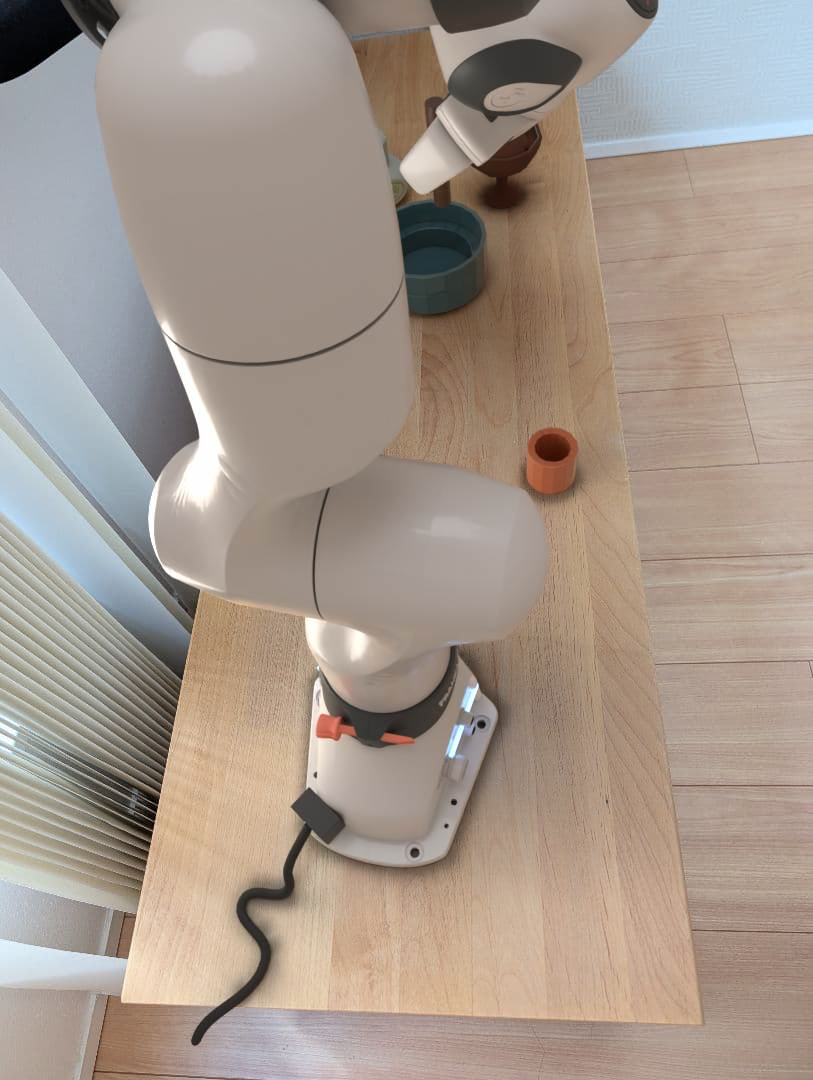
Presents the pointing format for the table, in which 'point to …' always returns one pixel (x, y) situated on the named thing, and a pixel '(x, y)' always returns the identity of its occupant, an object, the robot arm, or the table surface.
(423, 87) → the table surface
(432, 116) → the stick
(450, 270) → the bowl
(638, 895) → the table surface
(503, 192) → the ice cream bowl
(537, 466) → the holder
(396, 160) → the air freshener
